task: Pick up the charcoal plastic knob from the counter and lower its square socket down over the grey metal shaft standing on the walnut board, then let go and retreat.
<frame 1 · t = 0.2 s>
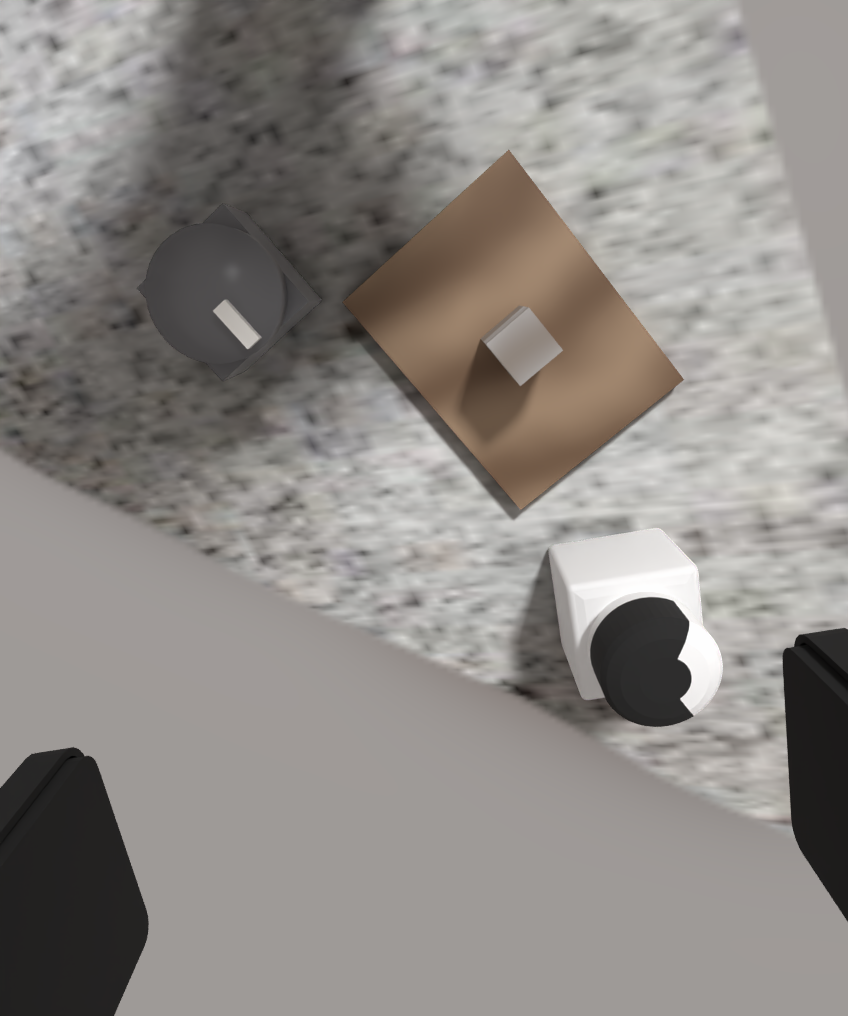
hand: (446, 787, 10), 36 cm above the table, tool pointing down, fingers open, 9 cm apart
knob: (245, 294, 44), on the table
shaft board: (513, 340, 44), on the table
medicine bottle: (609, 585, 49), on the table
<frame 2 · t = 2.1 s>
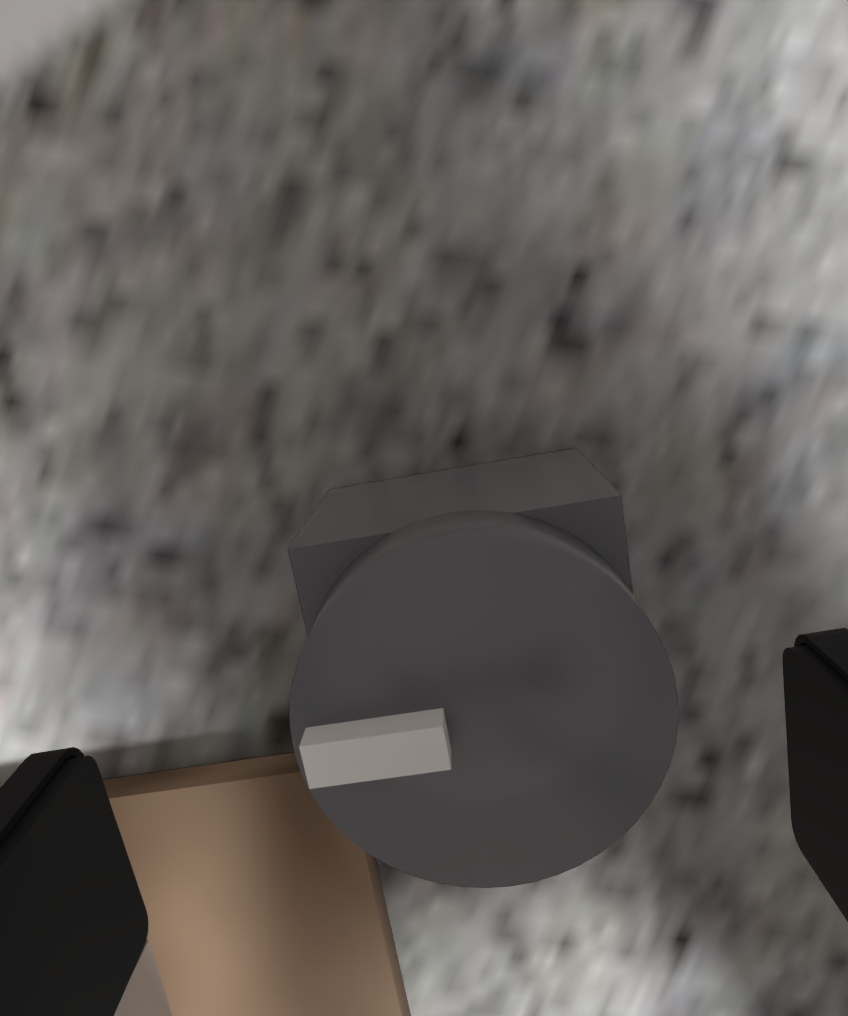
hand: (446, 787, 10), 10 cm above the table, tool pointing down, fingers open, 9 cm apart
knob: (471, 585, 20), on the table
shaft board: (128, 957, 23), on the table
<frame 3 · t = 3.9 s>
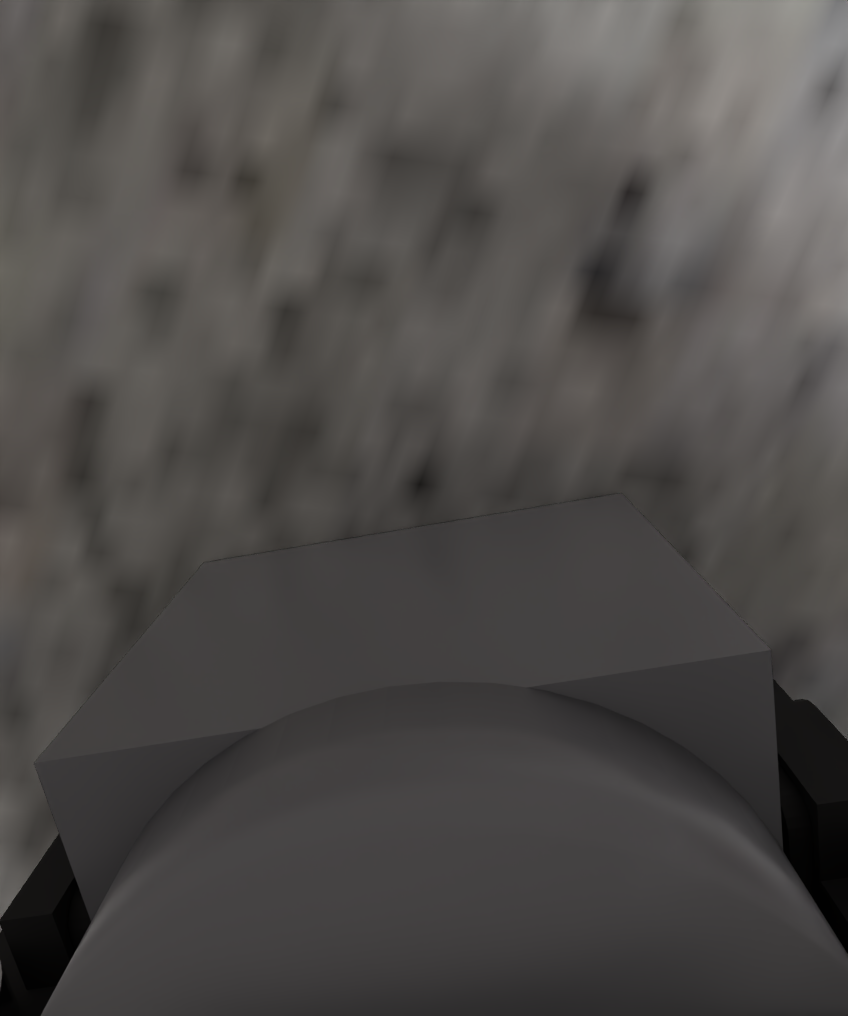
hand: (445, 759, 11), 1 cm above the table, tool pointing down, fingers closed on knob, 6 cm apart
knob: (444, 714, 12), on the table, touching gripper
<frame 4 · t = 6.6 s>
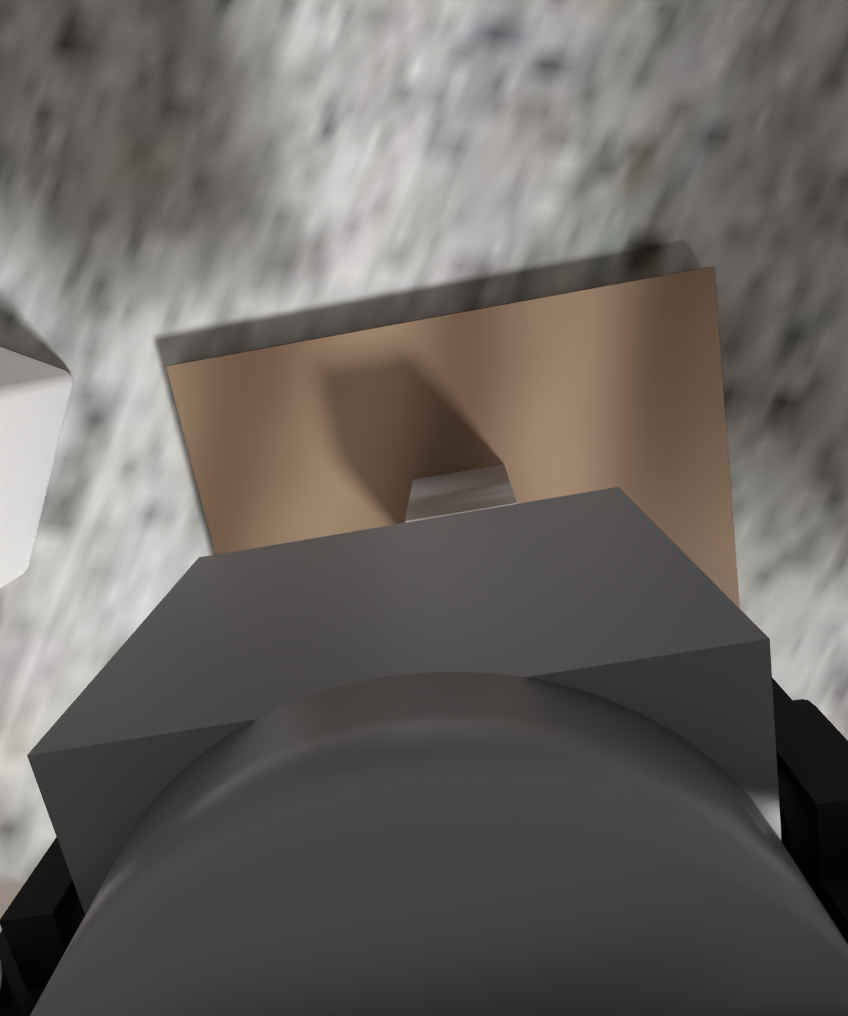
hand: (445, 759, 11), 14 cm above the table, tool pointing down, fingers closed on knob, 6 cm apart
knob: (441, 709, 12), point 13 cm above the table, touching gripper
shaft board: (465, 507, 24), on the table
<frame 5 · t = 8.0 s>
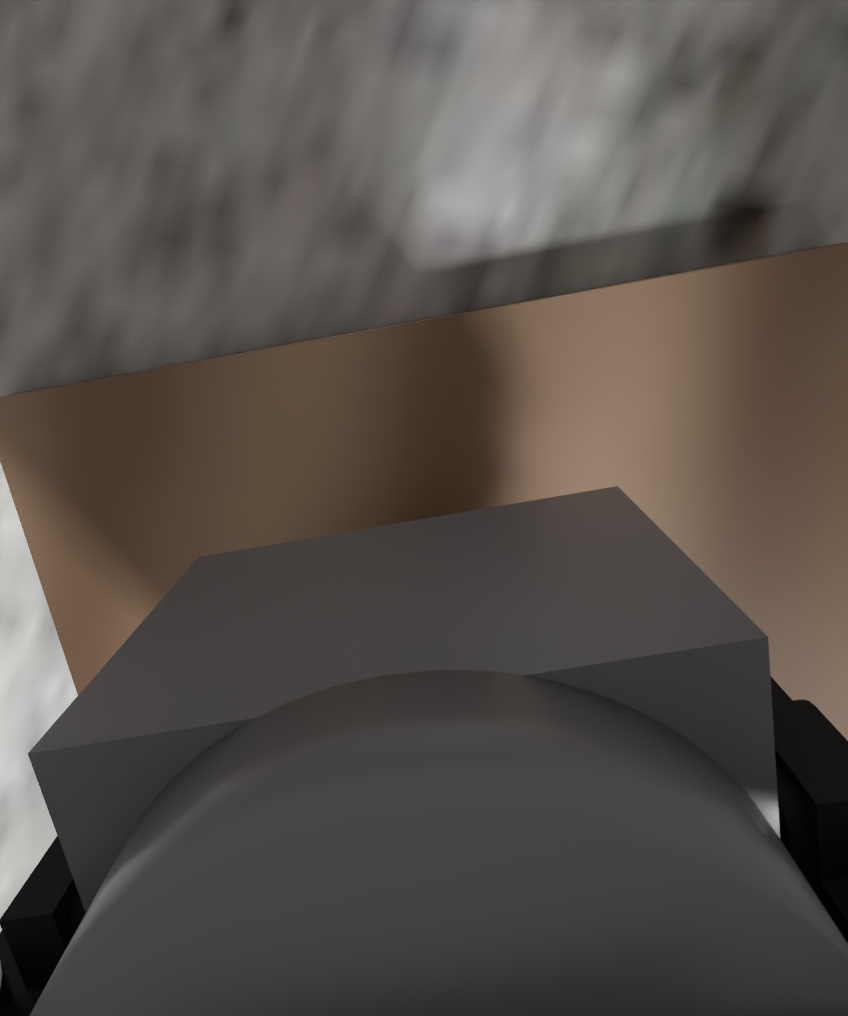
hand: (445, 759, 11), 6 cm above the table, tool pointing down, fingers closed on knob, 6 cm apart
knob: (441, 708, 12), point 4 cm above the table, touching gripper
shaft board: (457, 609, 16), on the table
when the fingers open (3 cm above the table, at t = 9.4 s): knob drops 1 cm, resting on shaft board.
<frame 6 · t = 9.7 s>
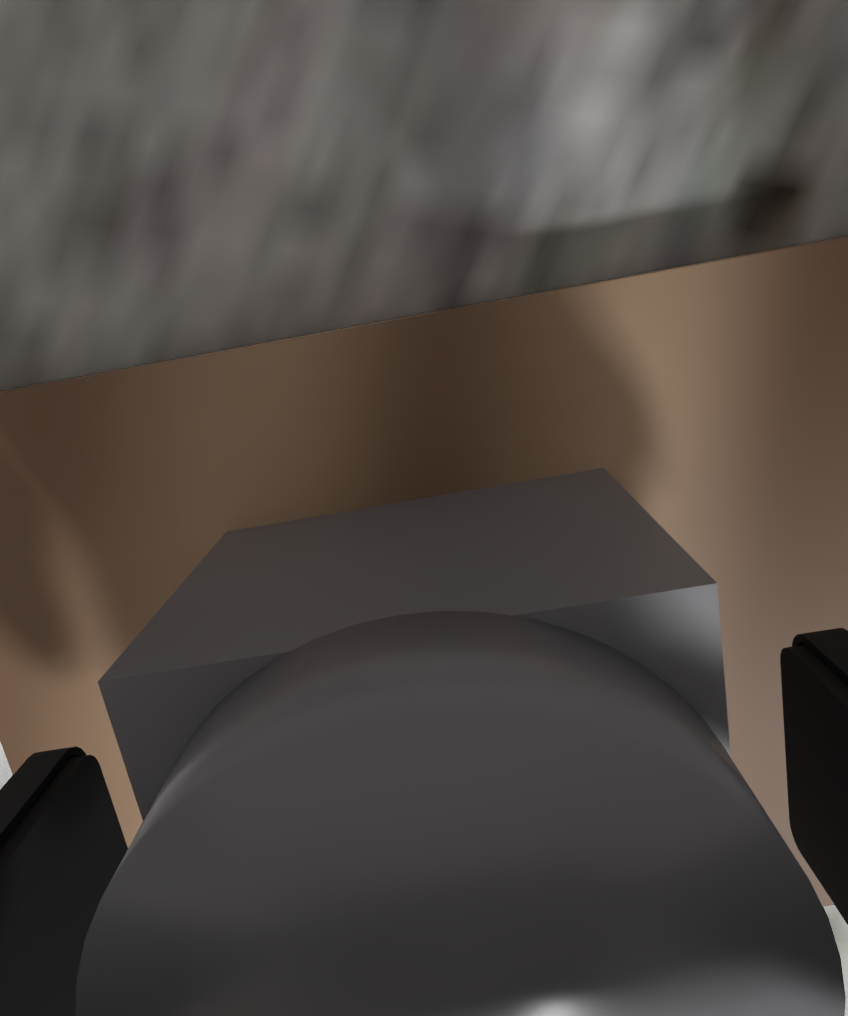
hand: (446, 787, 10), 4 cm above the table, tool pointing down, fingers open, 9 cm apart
knob: (444, 671, 13), point 1 cm above the table, touching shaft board
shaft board: (442, 649, 14), on the table
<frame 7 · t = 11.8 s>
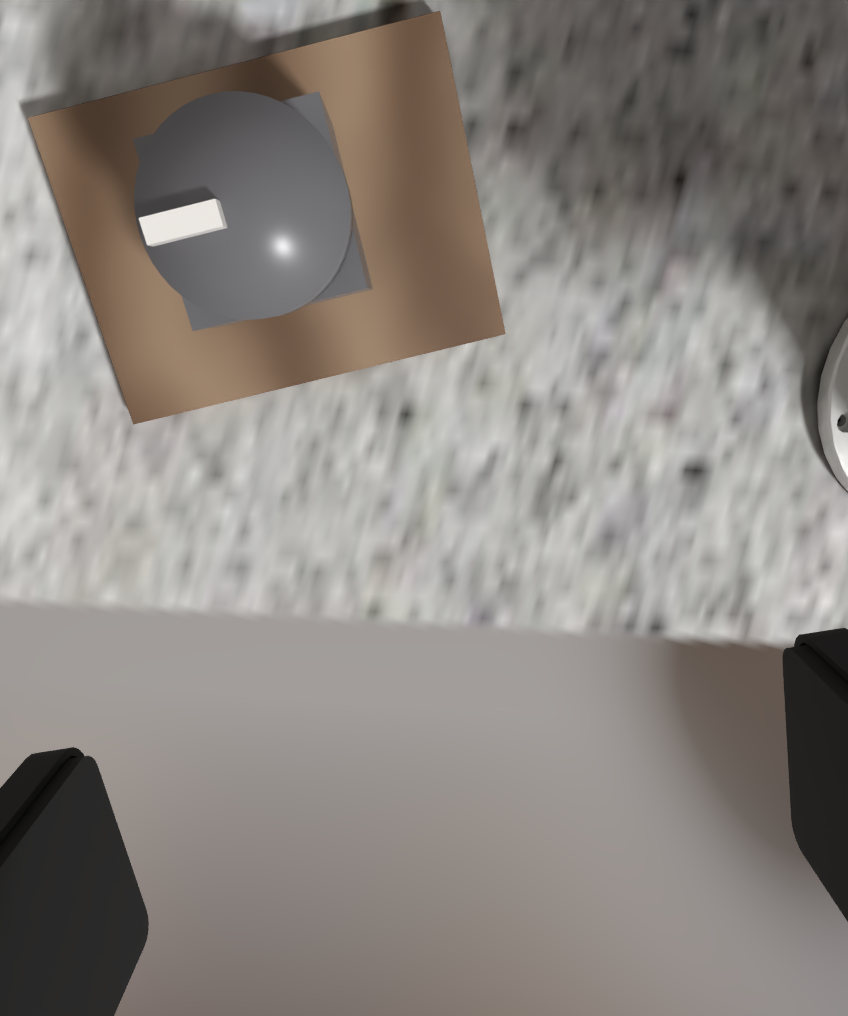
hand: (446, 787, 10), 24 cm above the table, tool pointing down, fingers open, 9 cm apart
knob: (277, 228, 30), point 1 cm above the table, touching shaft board
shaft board: (280, 232, 31), on the table
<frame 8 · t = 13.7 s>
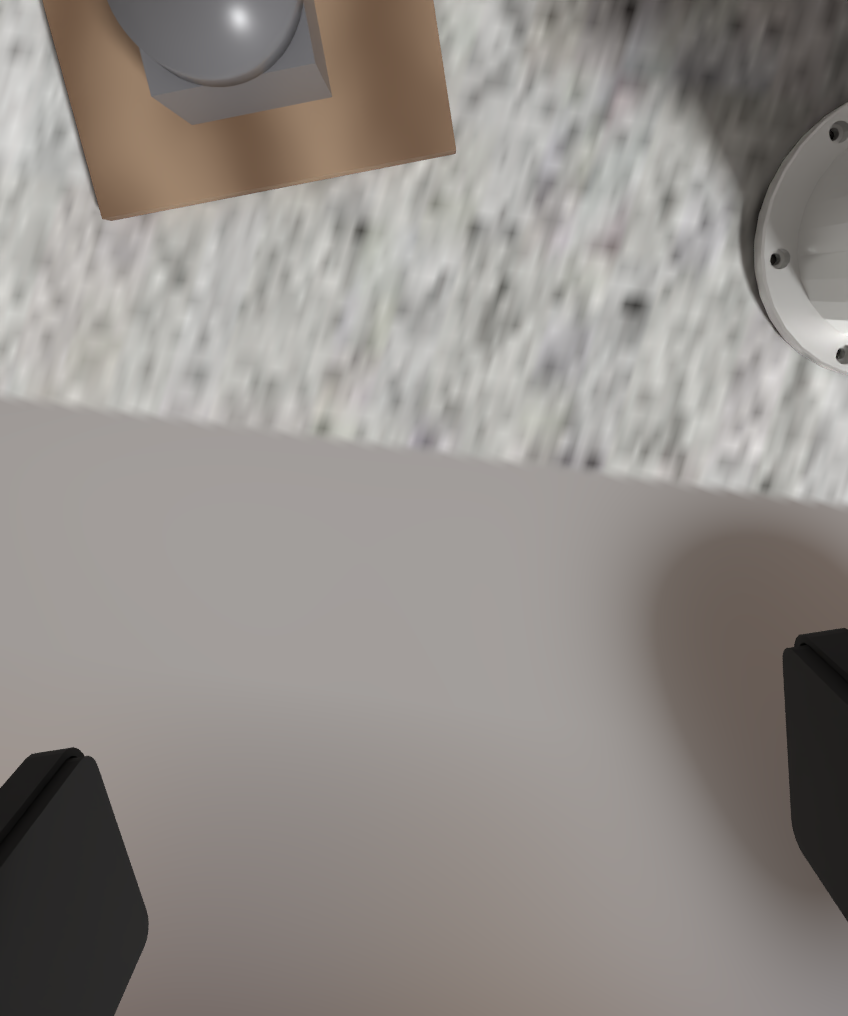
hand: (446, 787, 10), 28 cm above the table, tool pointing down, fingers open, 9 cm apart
knob: (244, 30, 32), point 1 cm above the table, touching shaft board
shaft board: (249, 40, 33), on the table
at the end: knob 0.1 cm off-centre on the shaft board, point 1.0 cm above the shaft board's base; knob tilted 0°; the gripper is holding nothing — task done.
